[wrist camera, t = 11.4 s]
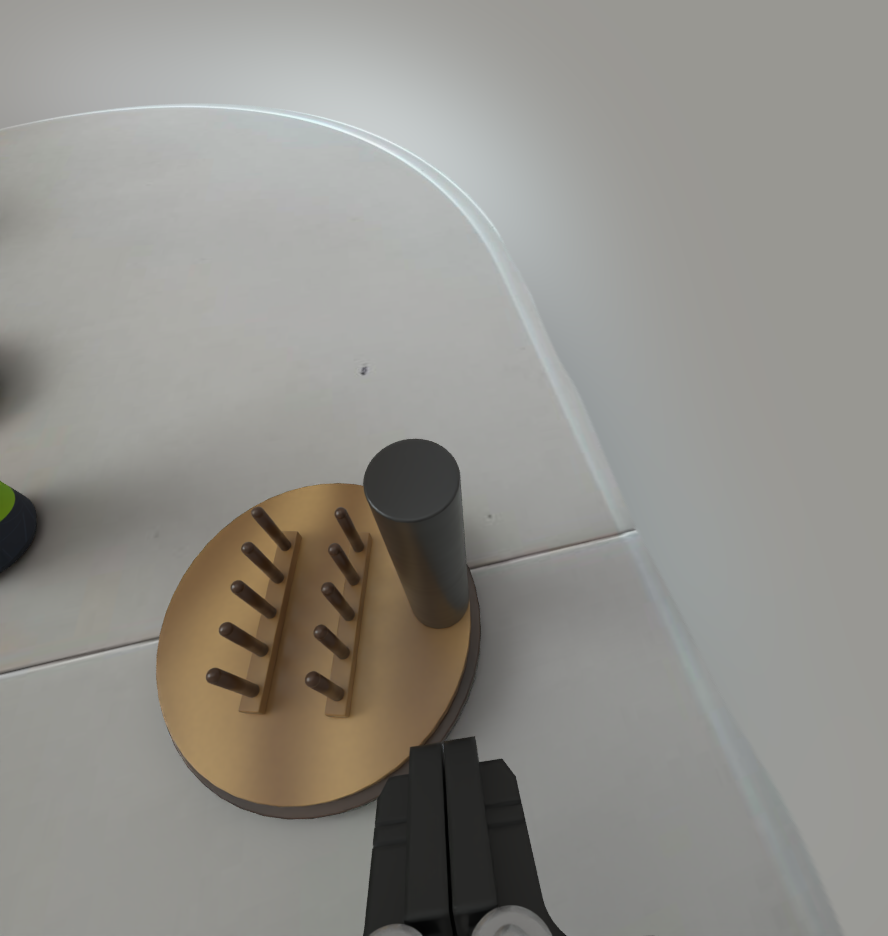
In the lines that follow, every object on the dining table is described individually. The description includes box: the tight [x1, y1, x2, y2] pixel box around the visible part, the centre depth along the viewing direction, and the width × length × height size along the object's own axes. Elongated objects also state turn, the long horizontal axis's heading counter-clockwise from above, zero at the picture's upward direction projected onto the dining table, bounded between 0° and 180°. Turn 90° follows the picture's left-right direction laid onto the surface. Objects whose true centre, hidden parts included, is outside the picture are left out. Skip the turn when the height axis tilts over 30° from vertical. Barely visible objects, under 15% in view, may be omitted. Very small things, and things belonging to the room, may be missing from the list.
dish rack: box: [156, 439, 471, 807], centre depth 21 cm, size 16×16×13 cm
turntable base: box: [166, 563, 481, 819], centre depth 27 cm, size 17×17×1 cm
